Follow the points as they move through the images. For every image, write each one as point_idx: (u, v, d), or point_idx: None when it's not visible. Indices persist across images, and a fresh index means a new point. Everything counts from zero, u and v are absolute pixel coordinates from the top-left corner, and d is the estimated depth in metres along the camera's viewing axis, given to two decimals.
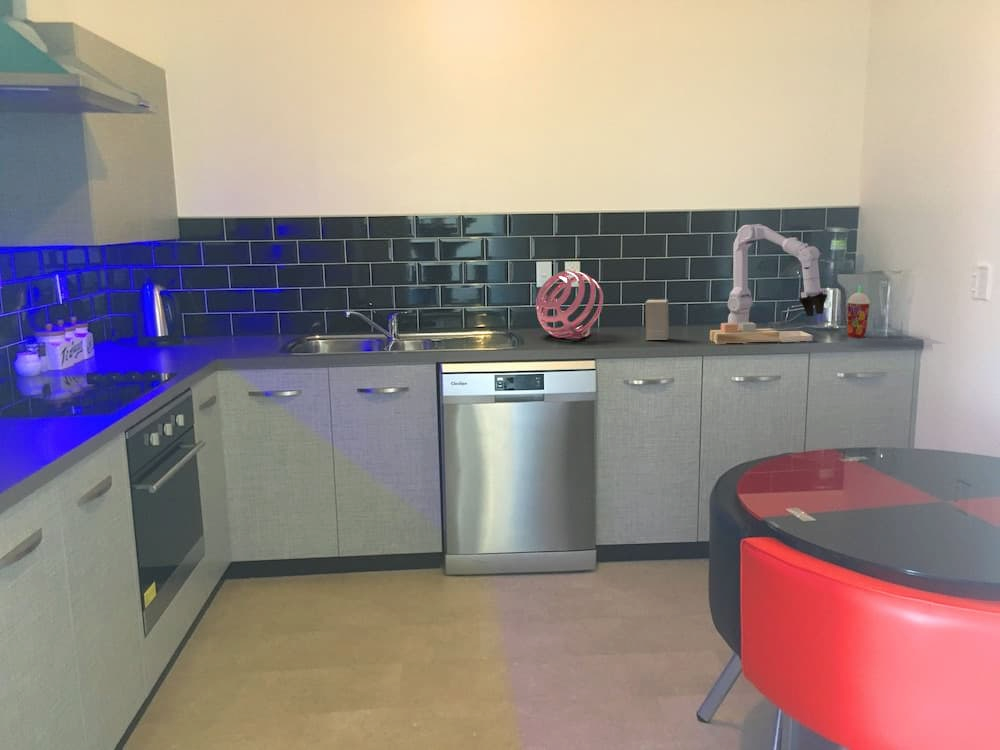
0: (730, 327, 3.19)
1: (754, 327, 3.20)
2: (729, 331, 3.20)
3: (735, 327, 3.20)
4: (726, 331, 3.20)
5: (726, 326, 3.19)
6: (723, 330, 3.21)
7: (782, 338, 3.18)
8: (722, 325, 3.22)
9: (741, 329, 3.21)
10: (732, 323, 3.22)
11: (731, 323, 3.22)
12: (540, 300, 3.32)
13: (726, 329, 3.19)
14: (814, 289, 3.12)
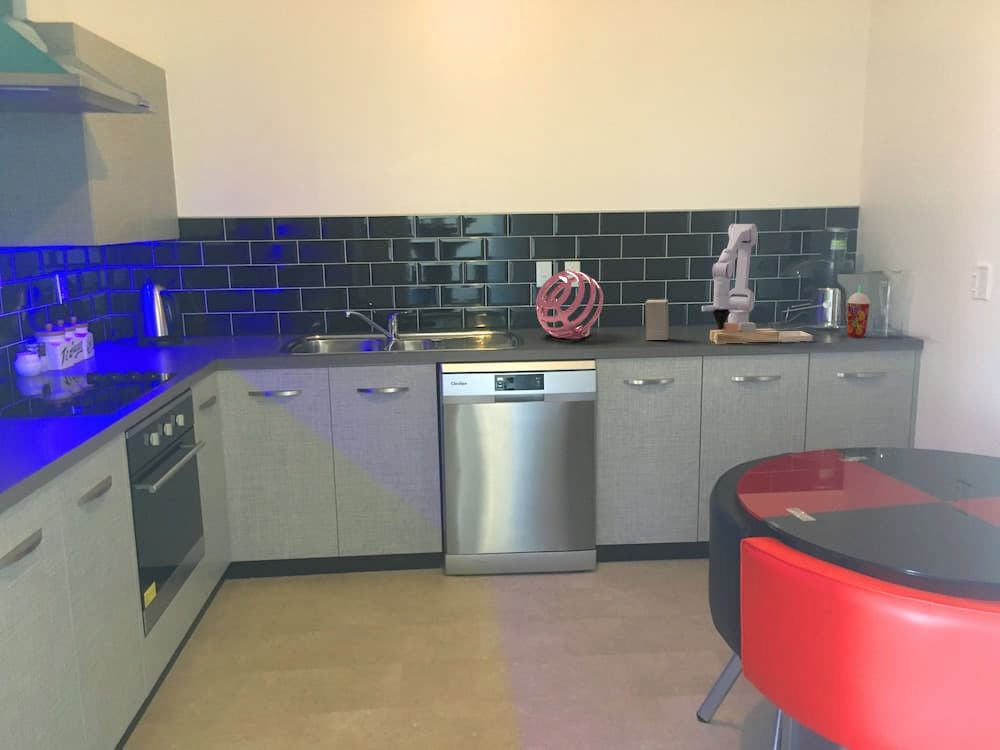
0: (731, 327, 3.19)
1: (754, 327, 3.20)
2: (730, 331, 3.20)
3: (736, 327, 3.19)
4: (727, 331, 3.20)
5: (727, 326, 3.19)
6: (724, 330, 3.21)
7: (782, 338, 3.18)
8: None
9: (741, 329, 3.21)
10: (733, 323, 3.22)
11: (732, 323, 3.22)
12: (540, 300, 3.32)
13: (726, 329, 3.19)
14: (717, 305, 3.18)
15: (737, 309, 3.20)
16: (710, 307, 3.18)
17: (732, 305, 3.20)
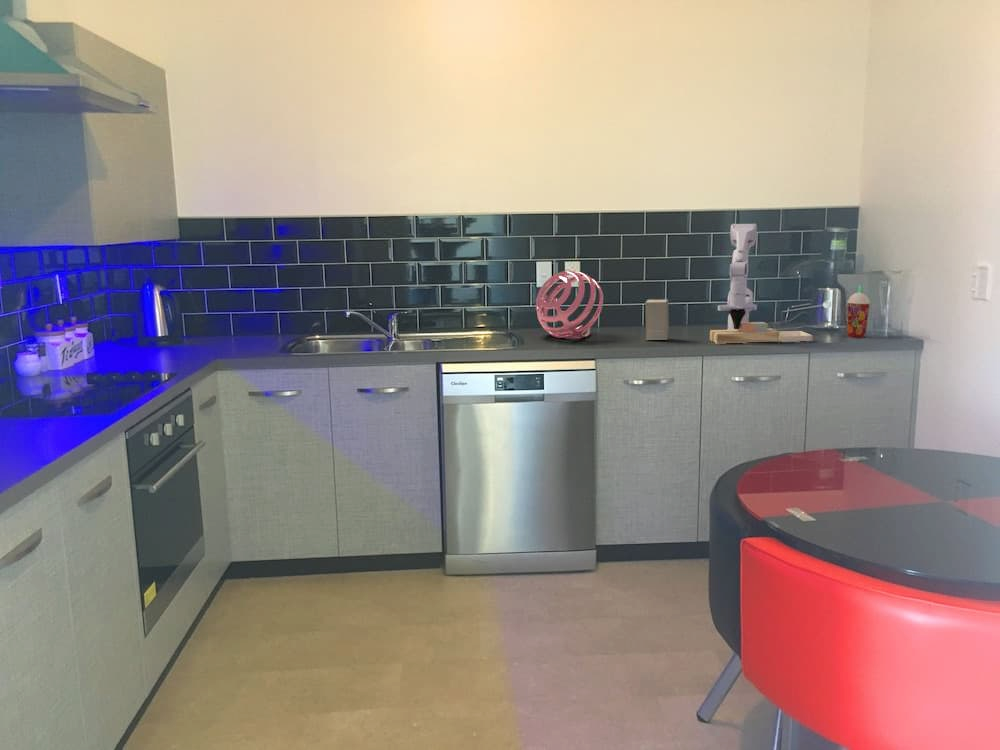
0: (747, 327, 3.20)
1: (766, 327, 3.20)
2: (746, 331, 3.20)
3: (752, 327, 3.20)
4: (743, 331, 3.20)
5: (743, 326, 3.19)
6: (740, 330, 3.21)
7: (782, 338, 3.18)
8: None
9: None
10: (749, 323, 3.23)
11: (748, 323, 3.23)
12: (540, 300, 3.32)
13: (743, 328, 3.20)
14: (733, 304, 3.18)
15: (753, 309, 3.20)
16: (726, 307, 3.19)
17: (748, 305, 3.20)
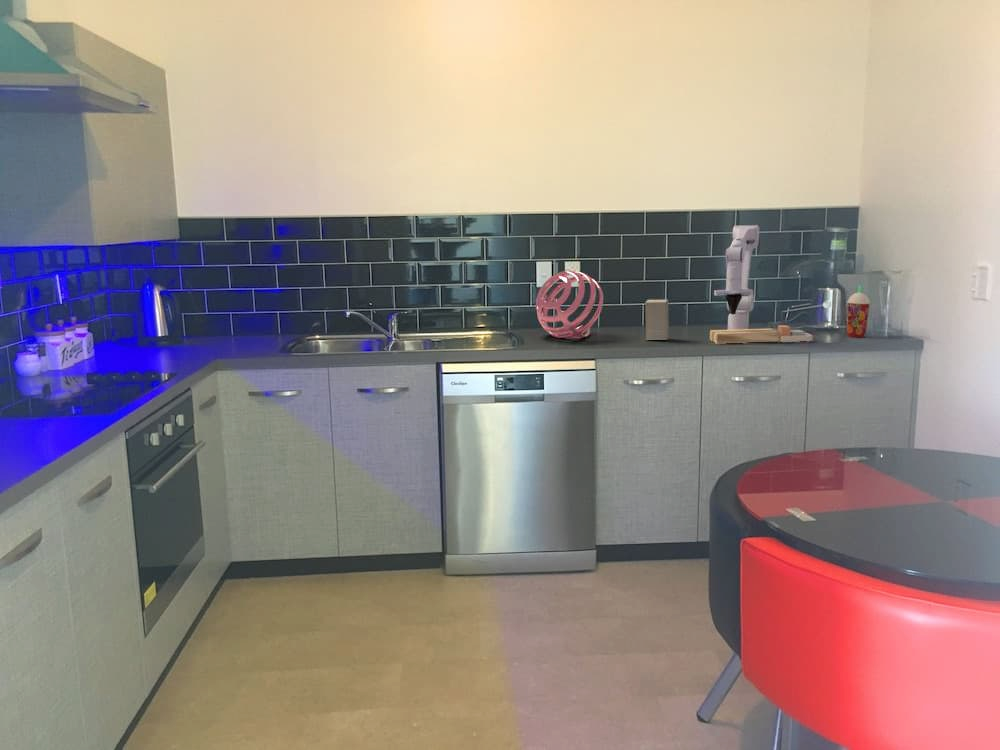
0: (787, 332, 3.21)
1: None
2: (783, 332, 3.21)
3: None
4: (783, 329, 3.20)
5: (788, 328, 3.21)
6: (782, 326, 3.22)
7: (782, 338, 3.18)
8: (785, 326, 3.23)
9: None
10: None
11: None
12: (540, 300, 3.32)
13: (786, 328, 3.20)
14: (729, 289, 3.20)
15: (750, 293, 3.21)
16: (723, 291, 3.20)
17: (745, 290, 3.22)
